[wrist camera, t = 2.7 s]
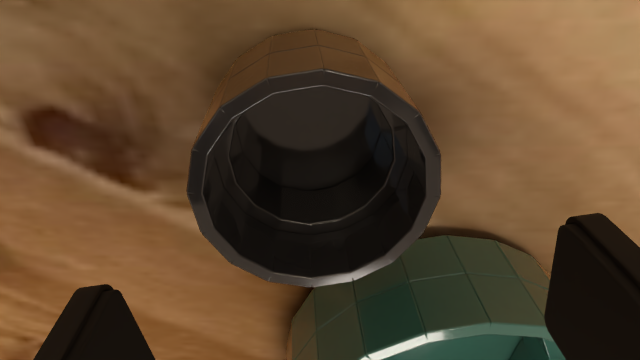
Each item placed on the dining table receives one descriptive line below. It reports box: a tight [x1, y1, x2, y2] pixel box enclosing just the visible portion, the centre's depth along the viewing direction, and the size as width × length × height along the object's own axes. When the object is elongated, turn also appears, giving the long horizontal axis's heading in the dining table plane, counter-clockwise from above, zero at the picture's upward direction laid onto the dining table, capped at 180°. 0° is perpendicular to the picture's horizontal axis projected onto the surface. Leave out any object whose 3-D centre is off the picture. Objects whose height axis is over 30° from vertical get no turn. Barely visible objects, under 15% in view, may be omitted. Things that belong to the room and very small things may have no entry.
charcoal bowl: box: [187, 29, 441, 288], centre depth 14 cm, size 7×7×5 cm
